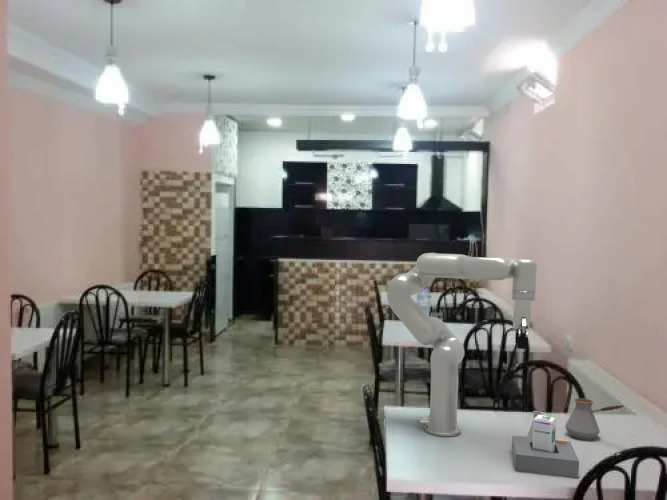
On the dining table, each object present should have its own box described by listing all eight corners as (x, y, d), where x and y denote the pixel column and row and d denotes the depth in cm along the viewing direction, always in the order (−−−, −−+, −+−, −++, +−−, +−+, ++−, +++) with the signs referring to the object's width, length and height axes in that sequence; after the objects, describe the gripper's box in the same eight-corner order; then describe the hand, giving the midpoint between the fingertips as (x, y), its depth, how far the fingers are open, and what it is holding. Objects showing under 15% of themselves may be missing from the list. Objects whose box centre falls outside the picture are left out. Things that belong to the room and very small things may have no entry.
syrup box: (550, 468, 197) (553, 421, 196) (530, 464, 200) (533, 418, 199) (554, 462, 201) (556, 417, 201) (535, 458, 204) (537, 413, 204)
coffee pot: (557, 433, 231) (560, 392, 230) (578, 429, 237) (580, 389, 236) (611, 452, 213) (613, 408, 212) (632, 447, 219) (634, 403, 218)
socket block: (515, 470, 194) (516, 451, 193) (511, 450, 211) (512, 432, 211) (578, 477, 190) (579, 457, 190) (569, 456, 207) (570, 438, 207)
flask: (548, 445, 218) (549, 416, 217) (526, 443, 219) (527, 414, 219) (546, 438, 225) (547, 410, 224) (524, 436, 226) (526, 408, 226)
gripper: (510, 292, 226) (508, 340, 226) (513, 297, 209) (511, 350, 210) (532, 293, 224) (530, 342, 225) (537, 299, 207) (535, 351, 208)
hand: (521, 346), depth 217 cm, fingers open, 9 cm apart
